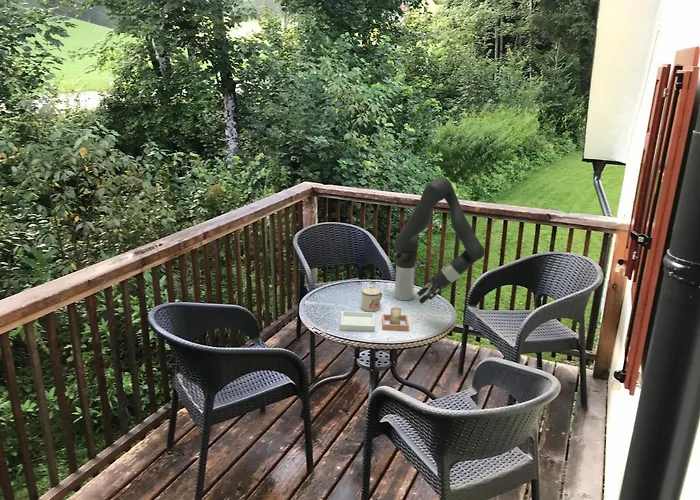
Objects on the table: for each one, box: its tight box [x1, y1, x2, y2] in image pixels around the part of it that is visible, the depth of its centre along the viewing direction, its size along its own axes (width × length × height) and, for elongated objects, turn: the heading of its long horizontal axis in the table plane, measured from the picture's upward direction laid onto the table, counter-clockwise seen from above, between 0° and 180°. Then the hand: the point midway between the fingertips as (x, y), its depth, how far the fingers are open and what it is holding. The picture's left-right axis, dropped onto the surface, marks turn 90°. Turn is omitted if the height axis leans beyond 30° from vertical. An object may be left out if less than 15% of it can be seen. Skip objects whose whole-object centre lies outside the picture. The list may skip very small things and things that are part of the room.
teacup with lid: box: [361, 284, 383, 313], centre depth 271 cm, size 12×9×12 cm
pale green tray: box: [339, 310, 376, 333], centre depth 254 cm, size 15×15×3 cm
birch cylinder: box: [389, 306, 402, 325], centre depth 254 cm, size 5×5×8 cm
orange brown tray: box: [381, 313, 410, 332], centre depth 255 cm, size 12×12×2 cm
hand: (419, 298), depth 251 cm, fingers open, 8 cm apart
